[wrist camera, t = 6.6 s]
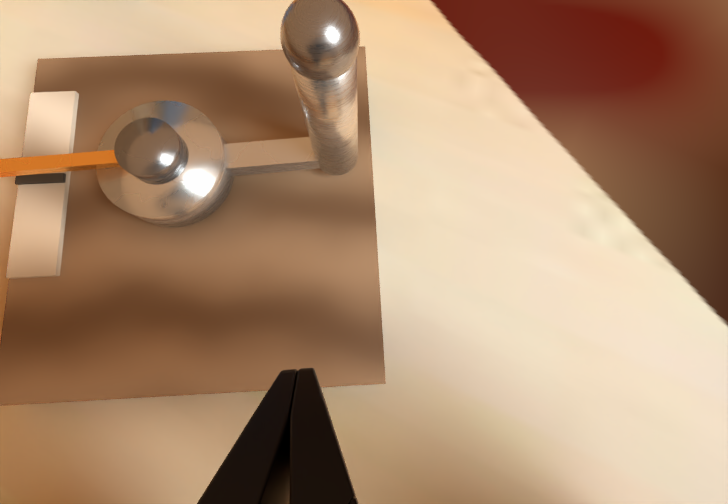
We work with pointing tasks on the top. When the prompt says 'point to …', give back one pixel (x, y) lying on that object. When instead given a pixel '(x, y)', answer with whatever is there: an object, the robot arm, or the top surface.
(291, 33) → the metal post and dome
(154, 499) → the top surface
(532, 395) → the top surface
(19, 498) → the top surface
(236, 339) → the stand
